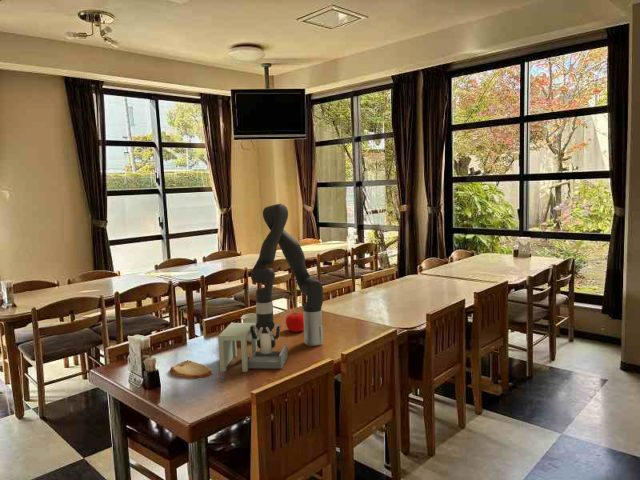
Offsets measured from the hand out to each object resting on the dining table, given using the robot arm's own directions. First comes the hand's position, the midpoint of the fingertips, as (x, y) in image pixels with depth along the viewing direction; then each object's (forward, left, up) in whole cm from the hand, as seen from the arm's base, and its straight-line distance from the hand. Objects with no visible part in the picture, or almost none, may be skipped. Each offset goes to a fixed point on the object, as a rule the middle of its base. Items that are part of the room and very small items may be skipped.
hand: (266, 347), depth 219 cm
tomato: (-6, -49, -8) cm, 50 cm away
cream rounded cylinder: (0, 0, -2) cm, 2 cm away
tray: (0, 0, -7) cm, 7 cm away
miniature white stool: (+13, 0, -7) cm, 15 cm away
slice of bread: (+32, +11, -8) cm, 34 cm away
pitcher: (+14, -34, -8) cm, 37 cm away
